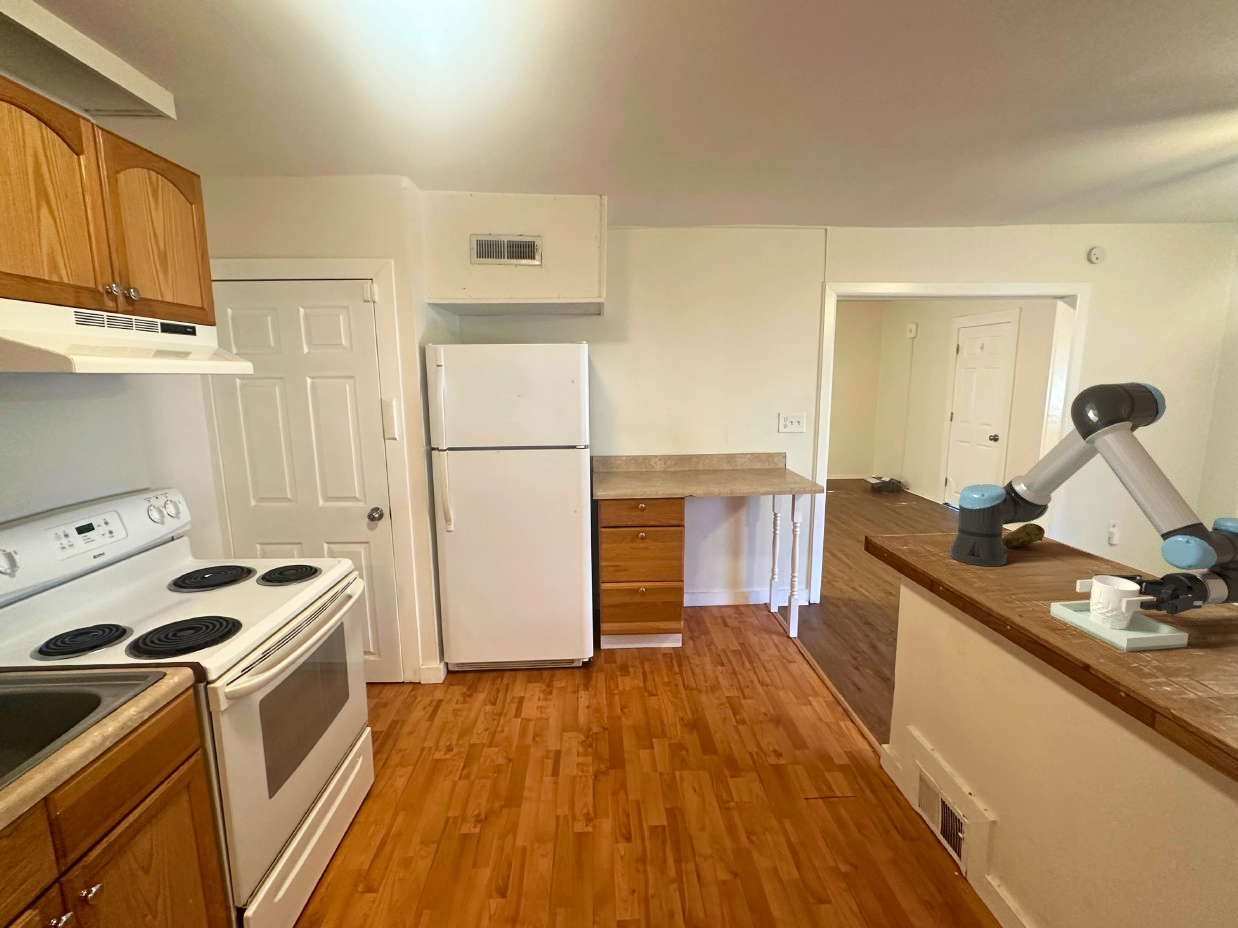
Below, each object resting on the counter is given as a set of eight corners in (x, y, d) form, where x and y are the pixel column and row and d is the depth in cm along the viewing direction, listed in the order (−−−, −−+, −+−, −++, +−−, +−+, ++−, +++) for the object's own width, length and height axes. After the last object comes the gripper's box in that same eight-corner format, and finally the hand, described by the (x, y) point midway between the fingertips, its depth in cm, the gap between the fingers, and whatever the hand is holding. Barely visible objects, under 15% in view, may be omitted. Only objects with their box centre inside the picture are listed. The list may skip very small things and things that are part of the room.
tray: (1050, 614, 128) (1051, 602, 128) (1103, 610, 129) (1104, 598, 129) (1125, 651, 111) (1127, 638, 110) (1186, 646, 111) (1188, 633, 111)
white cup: (1140, 632, 117) (1149, 591, 115) (1099, 629, 118) (1107, 588, 116) (1116, 615, 124) (1124, 576, 122) (1077, 612, 126) (1084, 574, 124)
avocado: (994, 542, 182) (995, 520, 181) (1037, 543, 179) (1039, 521, 178) (1005, 550, 174) (1007, 526, 173) (1050, 551, 171) (1052, 528, 170)
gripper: (1250, 626, 109) (1151, 634, 108) (1137, 585, 131) (1053, 591, 130) (1255, 592, 108) (1155, 600, 107) (1140, 556, 130) (1056, 562, 129)
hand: (1099, 595), depth 118 cm, fingers open, 10 cm apart
